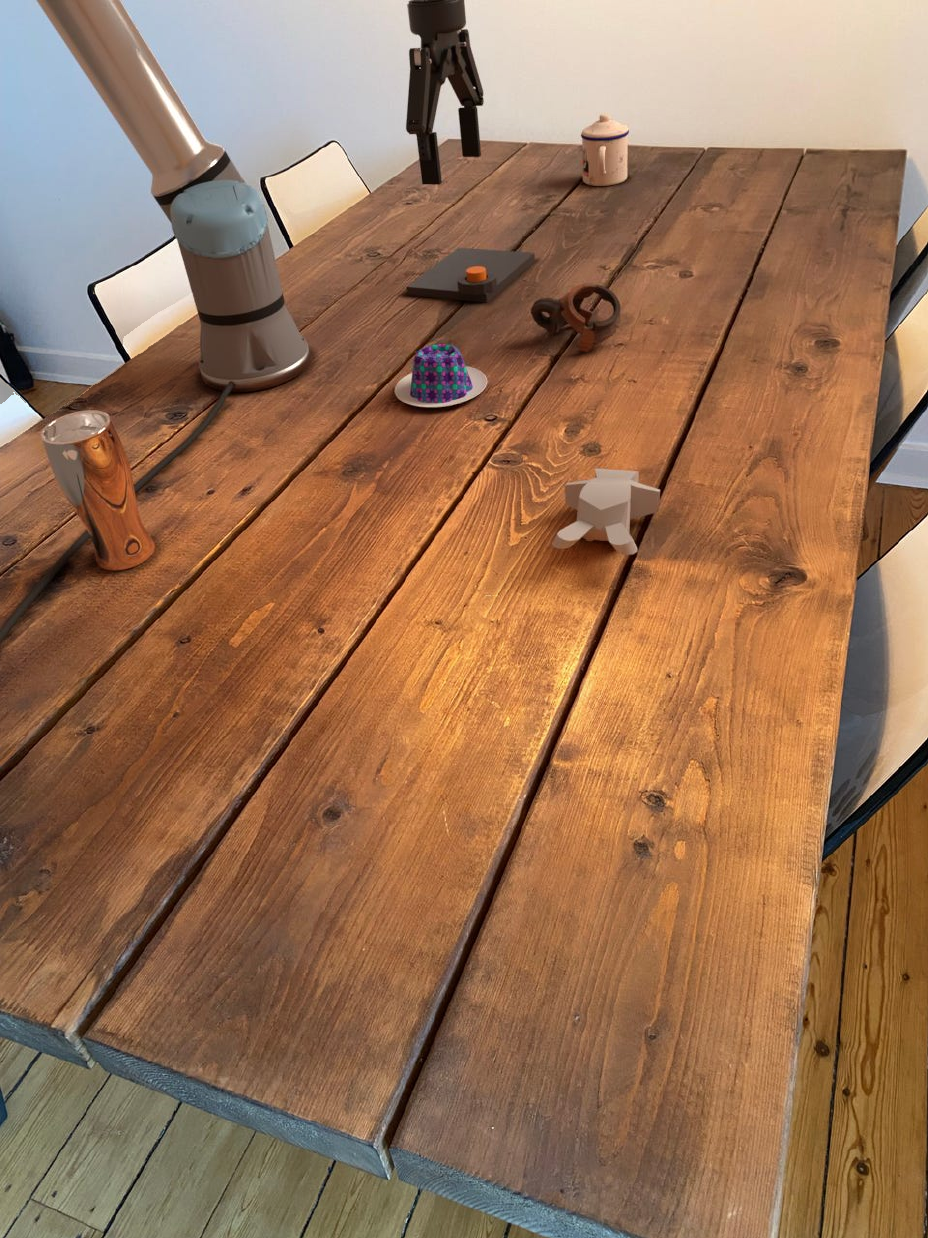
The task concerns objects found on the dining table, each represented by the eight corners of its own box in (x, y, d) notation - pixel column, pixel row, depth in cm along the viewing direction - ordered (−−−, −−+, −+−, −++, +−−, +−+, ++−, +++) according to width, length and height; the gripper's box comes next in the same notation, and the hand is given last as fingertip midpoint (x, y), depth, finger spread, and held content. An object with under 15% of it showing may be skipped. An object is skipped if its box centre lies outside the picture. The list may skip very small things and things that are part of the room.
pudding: (497, 371, 125) (494, 332, 121) (474, 414, 116) (470, 374, 113) (411, 368, 128) (406, 331, 125) (382, 410, 119) (376, 371, 116)
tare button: (481, 284, 142) (480, 273, 141) (463, 282, 143) (462, 272, 142) (489, 276, 144) (489, 266, 143) (472, 275, 145) (471, 265, 144)
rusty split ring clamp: (607, 322, 134) (625, 280, 127) (608, 376, 131) (627, 336, 123) (524, 309, 133) (538, 267, 125) (523, 364, 129) (537, 323, 122)
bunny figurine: (667, 459, 96) (645, 527, 84) (664, 504, 99) (643, 576, 87) (574, 453, 99) (541, 518, 87) (574, 497, 101) (542, 567, 89)
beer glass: (134, 528, 103) (86, 402, 94) (172, 547, 100) (126, 419, 90) (79, 560, 100) (23, 433, 90) (117, 581, 96) (63, 451, 86)
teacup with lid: (584, 174, 190) (583, 110, 183) (630, 172, 188) (630, 107, 181) (577, 192, 182) (576, 125, 174) (625, 190, 180) (626, 122, 172)
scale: (487, 305, 142) (485, 285, 140) (404, 297, 148) (401, 278, 146) (537, 261, 155) (536, 242, 153) (459, 255, 161) (457, 237, 159)
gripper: (417, 11, 114) (438, 196, 127) (498, -22, 130) (509, 145, 144) (363, 14, 117) (389, 195, 130) (449, -18, 133) (464, 145, 147)
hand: (452, 169), depth 137 cm, fingers open, 13 cm apart
